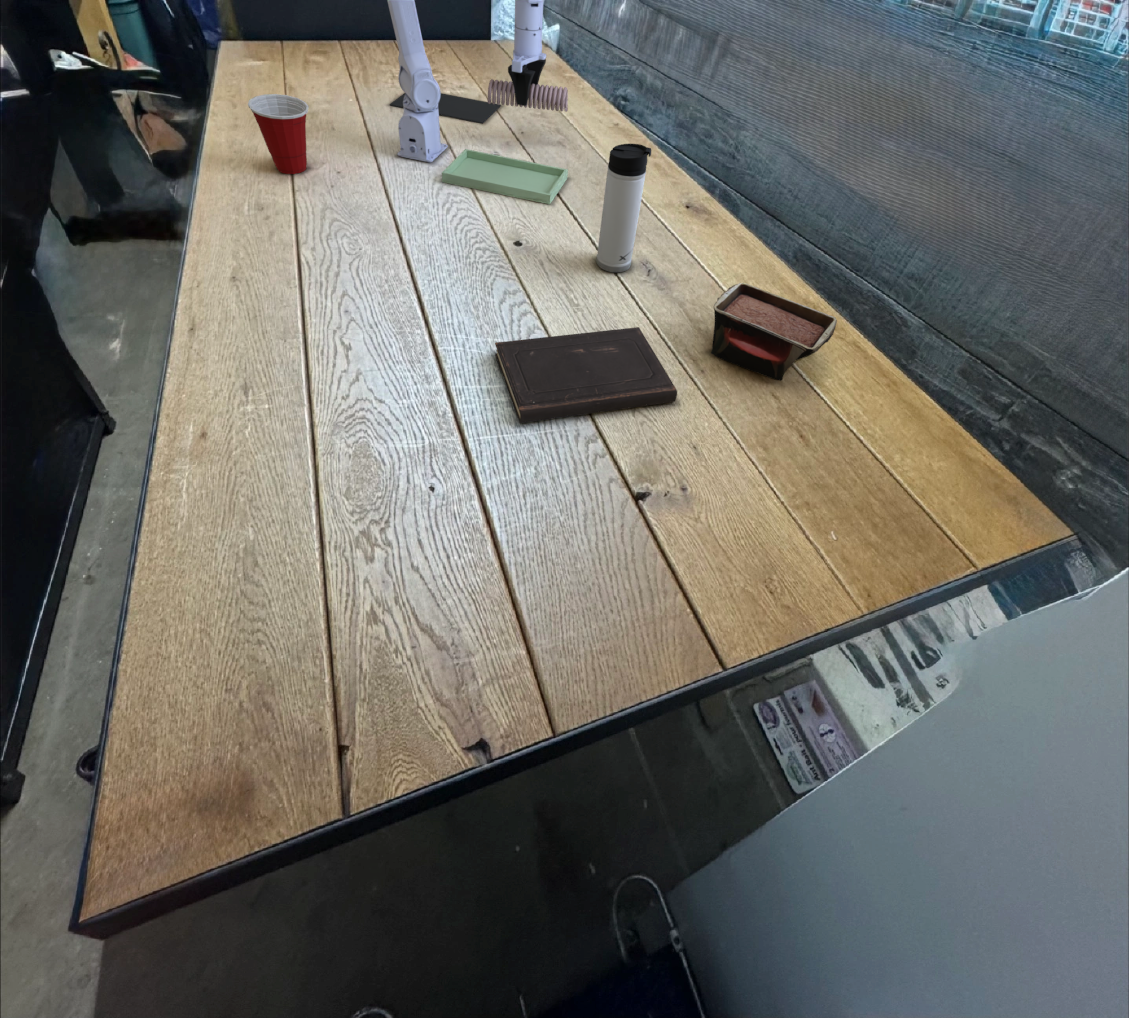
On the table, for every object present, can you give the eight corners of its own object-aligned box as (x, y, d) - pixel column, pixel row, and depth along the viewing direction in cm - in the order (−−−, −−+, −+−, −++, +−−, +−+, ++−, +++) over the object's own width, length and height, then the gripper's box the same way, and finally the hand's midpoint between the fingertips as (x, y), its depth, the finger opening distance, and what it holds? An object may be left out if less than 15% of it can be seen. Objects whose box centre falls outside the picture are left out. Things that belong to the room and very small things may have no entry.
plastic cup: (312, 182, 130) (298, 115, 121) (257, 177, 129) (239, 110, 120) (326, 159, 137) (314, 95, 128) (274, 154, 136) (258, 89, 127)
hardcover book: (495, 355, 98) (495, 342, 97) (636, 339, 104) (639, 326, 102) (520, 425, 89) (520, 413, 87) (674, 404, 94) (678, 391, 92)
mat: (482, 123, 156) (482, 122, 156) (389, 105, 159) (389, 104, 158) (500, 105, 164) (500, 104, 164) (412, 88, 167) (411, 87, 167)
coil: (569, 85, 145) (488, 76, 144) (569, 89, 141) (486, 80, 140) (567, 109, 148) (488, 101, 147) (567, 114, 144) (486, 105, 144)
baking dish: (738, 323, 113) (744, 269, 105) (838, 354, 104) (853, 297, 97) (693, 365, 106) (697, 310, 98) (797, 403, 97) (809, 345, 90)
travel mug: (629, 276, 116) (649, 157, 101) (593, 269, 117) (607, 150, 101) (634, 258, 120) (653, 142, 105) (599, 252, 121) (613, 136, 105)
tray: (549, 204, 132) (550, 195, 130) (442, 182, 134) (441, 172, 133) (567, 178, 140) (568, 169, 138) (465, 157, 143) (465, 148, 141)
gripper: (536, 39, 129) (533, 114, 140) (556, 21, 139) (552, 93, 149) (502, 32, 130) (502, 108, 141) (525, 15, 139) (523, 87, 150)
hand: (526, 100), depth 145 cm, fingers closed on coil, 5 cm apart
